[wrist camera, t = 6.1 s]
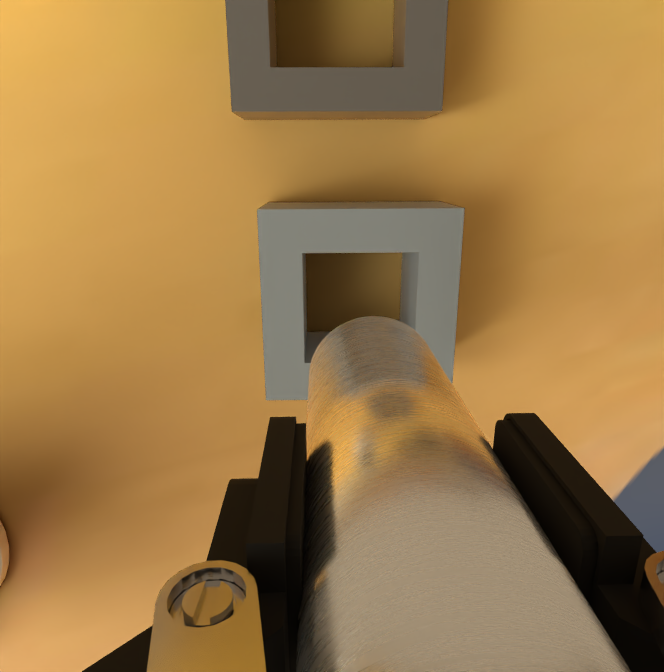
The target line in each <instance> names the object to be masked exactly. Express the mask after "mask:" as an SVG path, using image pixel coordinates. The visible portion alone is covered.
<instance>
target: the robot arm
mask: <svg viewBox="0 0 664 672" xmlns="http://www.w3.org/2000/svg"><path fill="white" fill-rule="evenodd" d="M493 451H494V452H495V454H496V456H497V457H498V459H499V460H500V462H501V464H502V465H503V467H504V468H505V470H506V472H507V473H508V475H509V476H510V478H511V480H512V481H513V483H514V484H515V486H516V488H517V489H518V491H519V492H520V494H521V496H522V497H523V499H524V501H525V502H526V504H527V505H528V507H529V509H530V510H531V512H532V513H533V515H534V517H535V518H536V520H537V521H538V523H539V525H540V526H541V528H542V529H543V531H544V533H545V534H546V536H547V537H548V539H549V541H550V542H551V544H552V545H553V547H554V549H555V550H556V552H557V553H558V555H559V557H560V558H561V560H562V561H563V563H564V565H565V566H566V568H567V570H568V571H569V573H570V574H571V576H572V578H573V579H574V581H575V582H576V584H577V586H578V587H579V589H580V590H581V592H582V594H583V595H584V597H585V598H586V600H587V602H588V603H589V605H590V606H591V608H592V610H593V611H594V613H595V614H596V616H597V618H598V619H599V621H600V622H601V624H602V626H603V627H604V629H605V630H606V632H607V634H608V635H609V637H610V639H611V640H612V642H613V643H614V645H615V647H616V648H617V650H618V651H619V653H620V655H621V656H622V658H623V659H624V661H625V663H626V664H627V666H628V667H629V669H630V671H631V672H664V551H661V552H658V553H656V552H655V550H654V549H653V548H652V547H651V546H650V545H649V543H648V542H647V541H646V540H645V539H644V538H643V534H642V533H641V532H640V531H639V530H638V529H637V528H636V526H635V525H634V524H633V523H632V522H631V521H630V520H629V519H628V517H627V516H626V515H625V514H624V513H623V512H622V511H621V510H620V508H619V507H618V506H617V505H616V504H615V503H614V502H613V501H612V499H611V498H610V497H609V496H608V495H607V494H606V493H605V492H604V490H603V489H602V488H601V487H600V486H599V485H598V484H597V483H596V481H595V480H594V479H593V478H592V477H591V476H590V475H589V474H588V472H587V471H586V470H585V469H584V468H583V467H582V466H581V465H580V463H579V462H578V461H577V460H576V459H575V458H574V457H573V456H572V454H571V453H570V452H569V451H568V450H567V449H566V448H565V447H564V445H563V444H562V443H561V442H560V441H559V440H558V439H557V438H556V436H555V435H554V434H553V433H552V432H551V431H550V430H549V429H548V427H547V426H546V425H545V424H544V423H543V422H542V421H541V420H540V418H539V417H538V416H537V415H536V414H534V413H509V414H506V415H505V417H504V420H498V421H497V423H496V426H495V434H494V444H493ZM306 471H307V443H306V423H301V424H296V417H270V421H269V426H268V431H267V436H266V441H265V447H264V452H263V457H262V462H261V467H260V473H259V478H258V479H231V480H230V481H229V484H228V487H227V491H226V494H225V498H224V501H223V505H222V508H221V512H220V515H219V519H218V522H217V526H216V529H215V533H214V536H213V540H212V543H211V547H210V550H209V554H208V557H207V561H205V562H202V563H198V564H194V565H191V566H189V567H187V568H185V569H183V570H181V571H179V572H178V573H177V574H176V575H174V576H173V577H172V578H170V579H169V580H168V581H167V582H166V584H165V585H164V586H163V588H162V589H161V590H160V592H159V595H158V598H157V601H156V604H155V612H154V619H153V626H151V627H150V628H148V629H146V630H145V631H143V632H142V633H140V634H139V635H137V636H136V637H134V638H133V639H131V640H130V641H128V642H127V643H125V644H123V645H122V646H120V647H119V648H117V649H116V650H114V651H113V652H111V653H110V654H108V655H107V656H105V657H103V658H102V659H100V660H99V661H97V662H96V663H94V664H93V665H91V666H90V667H88V668H87V669H85V670H84V671H82V672H296V659H297V637H298V616H299V612H300V607H301V602H302V576H303V550H304V524H305V497H306ZM8 565H9V544H8V540H7V535H6V531H5V529H4V527H3V525H2V523H1V520H0V586H1V584H2V582H3V580H4V578H5V577H6V573H7V569H8Z"/></svg>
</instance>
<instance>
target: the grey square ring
mask: <svg viewBox="0 0 664 672" xmlns="http://www.w3.org/2000/svg"><path fill="white" fill-rule="evenodd" d="M225 2H226V20H227V37H228V54H229V71H230V89H231V106H232V112H233V113H235V114H236V115H238V116H240V117H241V118H243V119H244V120H332V119H426V118H428V117H430V116H433V115H435V114H437V113H439V112H441V111H442V104H443V86H444V68H445V50H446V31H447V13H448V0H394V23H393V60H392V67H277V45H276V14H275V0H225Z"/></svg>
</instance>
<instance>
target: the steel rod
mask: <svg viewBox="0 0 664 672" xmlns="http://www.w3.org/2000/svg"><path fill="white" fill-rule="evenodd" d="M306 443H307V471H306V497H305V524H304V550H303V576H302V602H301V607H300V612H299V616H298V637H297V659H296V672H631V671H630V669H629V667H628V666H627V664H626V663H625V661H624V659H623V658H622V656H621V655H620V653H619V651H618V650H617V648H616V647H615V645H614V643H613V642H612V640H611V639H610V637H609V635H608V634H607V632H606V630H605V629H604V627H603V626H602V624H601V622H600V621H599V619H598V618H597V616H596V614H595V613H594V611H593V610H592V608H591V606H590V605H589V603H588V602H587V600H586V598H585V597H584V595H583V594H582V592H581V590H580V589H579V587H578V586H577V584H576V582H575V581H574V579H573V578H572V576H571V574H570V573H569V571H568V570H567V568H566V566H565V565H564V563H563V561H562V560H561V558H560V557H559V555H558V553H557V552H556V550H555V549H554V547H553V545H552V544H551V542H550V541H549V539H548V537H547V536H546V534H545V533H544V531H543V529H542V528H541V526H540V525H539V523H538V521H537V520H536V518H535V517H534V515H533V513H532V512H531V510H530V509H529V507H528V505H527V504H526V502H525V501H524V499H523V497H522V496H521V494H520V492H519V491H518V489H517V488H516V486H515V484H514V483H513V481H512V480H511V478H510V476H509V475H508V473H507V472H506V470H505V468H504V467H503V465H502V464H501V462H500V460H499V459H498V457H497V456H496V454H495V452H494V451H493V449H492V448H491V446H490V444H489V443H488V441H487V440H486V438H485V436H484V435H483V433H482V432H481V430H480V428H479V427H478V425H477V423H476V422H475V420H474V419H473V417H472V415H471V414H470V412H469V411H468V409H467V407H466V406H465V404H464V403H463V401H462V399H461V398H460V396H459V395H458V393H457V391H456V390H455V388H454V387H453V385H452V383H451V382H450V380H449V379H448V377H447V375H446V374H445V372H444V371H443V369H442V367H441V366H440V364H439V363H438V361H437V359H436V358H435V356H434V354H433V353H432V351H431V350H430V348H429V346H428V345H427V343H426V342H425V340H424V339H423V338H422V337H421V336H420V335H419V333H417V332H416V331H415V330H414V329H413V328H411V327H410V326H408V325H407V324H405V323H403V322H400V321H398V320H395V319H392V318H388V317H383V316H366V317H360V318H356V319H353V320H350V321H347V322H345V323H343V324H341V325H339V326H338V327H336V328H335V329H333V330H332V331H331V332H330V333H329V334H328V335H327V336H326V337H325V338H324V339H323V340H322V341H321V343H320V344H319V345H318V347H317V349H316V351H315V353H314V355H313V357H312V360H311V364H310V369H309V385H308V408H307V431H306Z"/></svg>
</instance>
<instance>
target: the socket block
mask: <svg viewBox="0 0 664 672" xmlns="http://www.w3.org/2000/svg"><path fill="white" fill-rule="evenodd" d="M464 210H465V208H462V207H458V206H455V205H451V204H448V203H444V202H441V201H396V202H268V203H266V204H265V205H263V206H262V207H260V208H259V209H257V218H258V239H259V260H260V282H261V303H262V324H263V346H264V367H265V388H266V400H308V385H309V369H310V364H311V360H312V357H313V355H314V353H315V351H316V349H317V347H318V345H319V344H320V343H321V341H322V340H323V339H324V338H325V337H326V336H327V335H328V334H329V333H330V332H331V331H326V332H307V296H306V253H397V252H402V266H401V294H400V322H403V323H405V324H407V325H408V326H410V327H411V328H413V329H414V330H415V331H416V332H417V333H419V335H420V336H421V337H422V338H423V339H424V340H425V342H426V343H427V345H428V346H429V348H430V350H431V351H432V353H433V354H434V356H435V358H436V359H437V361H438V363H439V364H440V366H441V367H442V369H443V371H444V372H445V374H446V375H447V377H448V379H449V380H450V382H451V383H452V380H453V366H454V352H455V338H456V324H457V309H458V295H459V281H460V267H461V253H462V238H463V224H464Z"/></svg>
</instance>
